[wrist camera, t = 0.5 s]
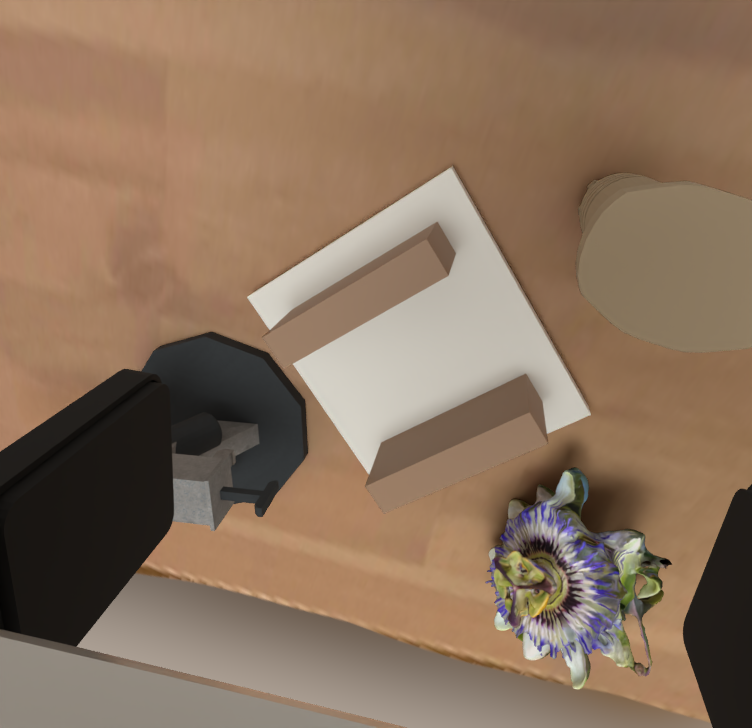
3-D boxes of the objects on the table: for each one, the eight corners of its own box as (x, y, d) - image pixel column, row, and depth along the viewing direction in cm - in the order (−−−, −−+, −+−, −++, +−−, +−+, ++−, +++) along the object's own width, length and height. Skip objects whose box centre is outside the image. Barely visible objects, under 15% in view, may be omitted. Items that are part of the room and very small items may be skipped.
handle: (649, 266, 33) (752, 376, 19) (534, 230, 33) (555, 311, 20) (692, 176, 31) (841, 227, 17) (569, 139, 31) (620, 160, 18)
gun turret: (32, 320, 42) (-151, 402, 30) (317, 338, 38) (235, 437, 27) (69, 479, 47) (-77, 603, 35) (324, 508, 43) (257, 656, 31)
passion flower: (520, 465, 45) (529, 444, 34) (674, 524, 42) (741, 523, 31) (465, 616, 43) (455, 649, 32) (623, 688, 40) (674, 753, 29)
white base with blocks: (588, 405, 36) (603, 459, 31) (391, 492, 41) (373, 552, 36) (452, 165, 33) (442, 177, 27) (254, 291, 38) (210, 323, 32)
